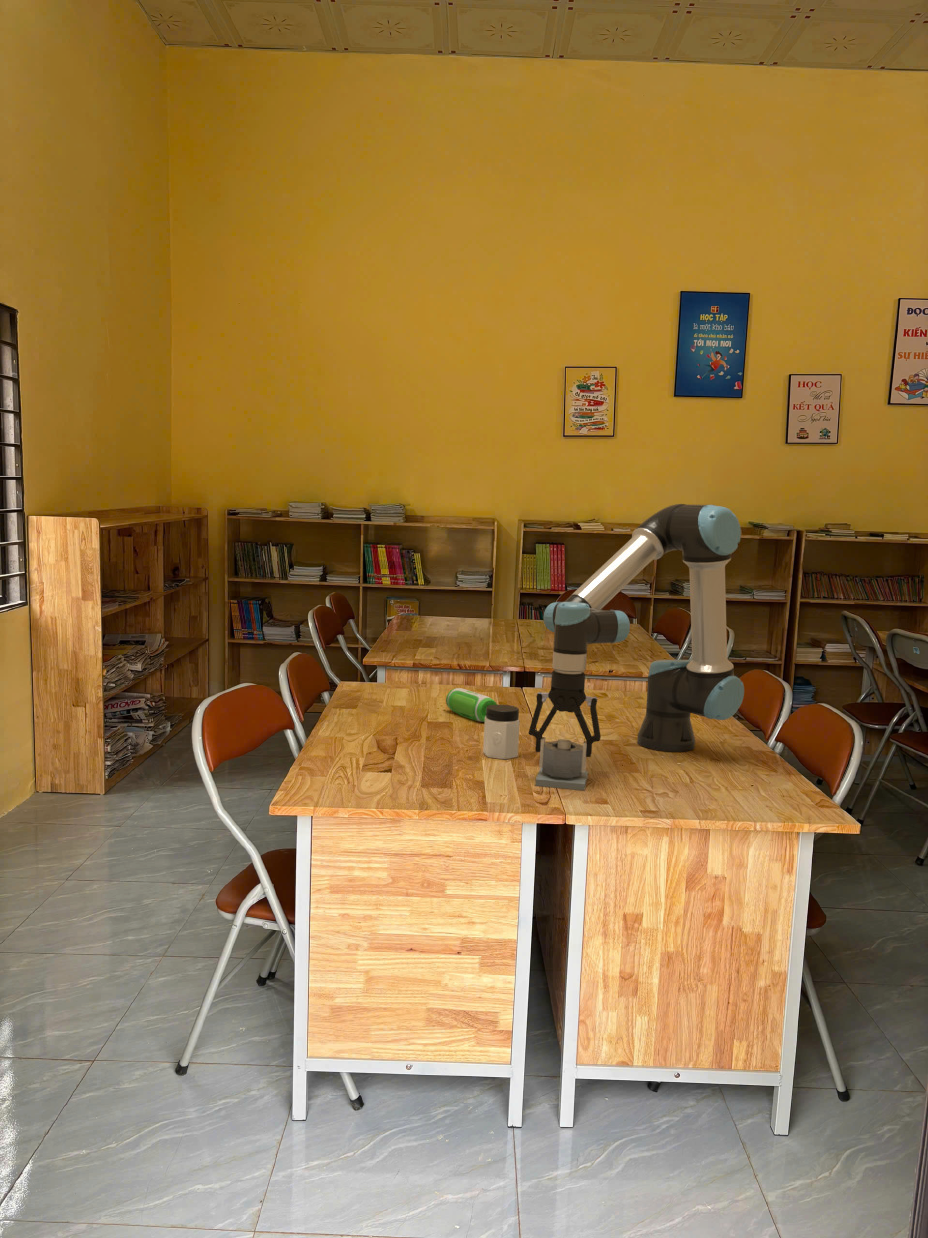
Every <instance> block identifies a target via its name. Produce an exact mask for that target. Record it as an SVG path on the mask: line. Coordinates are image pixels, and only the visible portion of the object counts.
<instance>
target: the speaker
mask: <svg viewBox="0 0 928 1238" xmlns="http://www.w3.org/2000/svg"><path fill="white" fill-rule="evenodd" d="M445 702H446V706H447V707H448V708H449V710H451V711H452V712H453V713H456V714H457V715H459V716H460V717H463V718H465V719H470V720H472V721H476V722H480V723H485V716H486V708H487V706H490V705H498V703H497V702H496V701H495V700H494V699H493V698H491V697H489V696H487V695H484V694H482V693H478V692H474V691H471V690H469V689H465V688H461V687H456V688H453V689H450V691H449V692H448V693H447V695H446V697H445Z"/></svg>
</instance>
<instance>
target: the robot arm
mask: <svg viewBox="0 0 928 1238" xmlns="http://www.w3.org/2000/svg"><path fill="white" fill-rule="evenodd" d="M741 534H742V529H741V525H740V521H739V519H738V517H737V516H736V514H735V513H733V511H732V510H731V509H730V508H727V507H724V506H720V505H715V504H685V503H676V504H675V503H674V504H672V505H669V506H667V507H664V508H662V509H660V510H658V511H657V512H655V513H653V514H652V515H651V516H650V517H648V518H647V519H646V520H644V521H642V523H641V524H639V525H638V526H637V527H636V528H635V529H634V530H633V531H632V534H631V538H630V539H629V540H628V541H627V542H626V543H625V544H624V545H623V546H622V547H621V548H620V549H619V550H617V551H616V552H615V553H614V554H613V556H611V557H610V558H609V559H608V560H607V561H606V562H605V563H604V564H602V566H600V567H599V568H598V569H597V570H596V571H595V572H594V573H593V574H592V575H590V577H589V578H588V579H586V581H585V582H583V583H582V584H581V585H580V587H578V588H577V589H576V590H575V591H574V592H573V593H571V595H570V596H569V597H568V598H567V599H566V600H564V601H555V602H552V603H550V604H548V605H547V607H546V608H545V609H544V613H543V622H544V623H543V624H544V625H545V627H546V629H547V630H548V631H550V632H552V633H554V635H553V650H552V664H551V667H552V669H553V670H552V672H551V680H550V690H549V692H542V691H539V692H537V694H536V706H535V709H534V713H533V717H532V719H531V723H530V726H529V729H528V734H529V736H533V737H534V738H535V752H536V753H539V762H538V763H539V764H538V767H539V769H540V768H542V767H543V750H544V744H545V742H546V737H545V736H544V733H545V732H546V730H547V728H548V727H549V725H550V723H551V722H552V720H553V719H554V717H555V715H556V713H557V712H561V713H562V712H567V713H574V716H575V717H576V719H577V722H578V725H579V726H580V730H581V732H582V735H583V736H584V739H585V740H584V741H583V743H582V745H583V754H582V769H581V772H585V771H586V767H587V766H586V764H587V758H591V757H592V751H593V750H592V749H593V743H596V742H600V741H601V737H602V735H601V730H600V724H599V718H598V710H597V705H598V704H597V703H598V697H597V696H588V695H586V692H585V684H586V674H585V672H584V671H586V669H587V667H586V666H587V653H588V645H592V644H593V645H594V644H615V643H620V642H623V641H625V640H626V639H627V638H628V636H629V634H630V629H631V624H630V623H631V621H630V619H629V617H628V615H627V614H626V613H625V612H624V611H622V610H614V609H609V610H605V609H603V608H604V607H605V606H606V605H607V604H608V603H609V602H610V601H611V600H613V598H614V597H615V596H616V595H617V594H618V593H620V592H621V591H622V590H623V589H624V587H626V586H627V585H628V584H629V583H630V582H631V581H632V580H633V579H634V578H635V577H636V576H637V575H638V574H640V573H641V571H643V569H644V568H645V567H646V566H648V565H649V564H650V563H651V562H652V561H653V560H659V559H661V558H662V557H664V555H665V554H667V553H669V552H672V551H682V562H683V563H684V564H685V565H687V567H688V569H689V600H690V601H689V602H690V603H689V604H690V625H691V626H690V627H691V628H690V629H691V655H692V656H691V658H692V659H659V660H655V661H652V662H651V664H650V665H649V668H648V669H649V670H648V675H647V689H646V690H647V691H646V706H645V707H646V710H645V716H644V718H643V721H642V723H641V726H640V729H639V730H638V732H637V740H636V741H637V744H638V745H640V746H641V747H644V748H647V749H651V750H655V751H662V752H672V753H673V752H677V753H681V752H689V751H693V750H694V749H695V748H696V747H695V746H696V737H695V733H694V730H693V725H692V721H691V714H692V715H696V716H701V717H703V718H706V719H709V720H717V721H725V720H728V719H730V718H731V717H733V716H734V715H735V714H736V713H737V712H738V710H739V709H740V707H741V705H742V703H743V700H744V696H745V686H744V682H743V681H742V680H741V678H739V677H738V676H737V675H735V671H734V670H735V669H734V664H733V663H732V661H730V660H729V659H728V643H727V642H728V641H727V639H728V638H727V635H728V634H727V602H726V601H727V600H726V598H727V597H726V565H727V564H728V563H729V562H730V561H731V560H732V553H734V552H735V551H736V550H737V549H738V546H739V545H738V544H740V542H741V538H742V535H741ZM547 699H549V700H550V702H551V704H552V708H551V709H550V710H549V713H548V714H547V716H546V717H545V720H544V721H543V723H542V725H541V726H540V728H539V729H538V730H537V729H536V728H537V725H538V721H539V719H540V716H541V712H542V708H543V704H544V703H545V702H546V701H547ZM584 702H586V703H587V706H588V707H590V708H589V711H590V717H591V723H592V731H593V735H592V733H591V732H590V728H589V726H588V724H587V722H586V720H585V717H584V714H583V711H582V709H581V706H582V705H583V704H584Z"/></svg>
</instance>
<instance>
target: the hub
mask: <svg viewBox="0 0 928 1238" xmlns="http://www.w3.org/2000/svg"><path fill="white" fill-rule="evenodd" d="M557 747H558V740H555V741H554V740H552V741H545V744H544V750H543V767H542V772H544V773H546V774H549V775H551V776H557V777H567V778H569V777H576V776H581V774H582V772H581V769H582V754H583V744H579V743H576V742H575V741H571V749H560V748H557Z"/></svg>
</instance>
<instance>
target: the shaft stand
mask: <svg viewBox="0 0 928 1238" xmlns="http://www.w3.org/2000/svg"><path fill="white" fill-rule="evenodd" d="M557 741H558V747H557V748H560V749H571V742H572V740H569V739H564V738H563V739H562V738H560V739H557ZM588 777H589V771H588V770H585V772H582V774H581V776H576V777H569V778H567V777H557V776H551V775H549V774H546V773H544V772H542V768H540V767H539V771H538V773H537V775H536V778H535V782H534V783H535V787H544V788H556V789H563V790H576V791H585V789H586V785H587V781H588Z"/></svg>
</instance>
